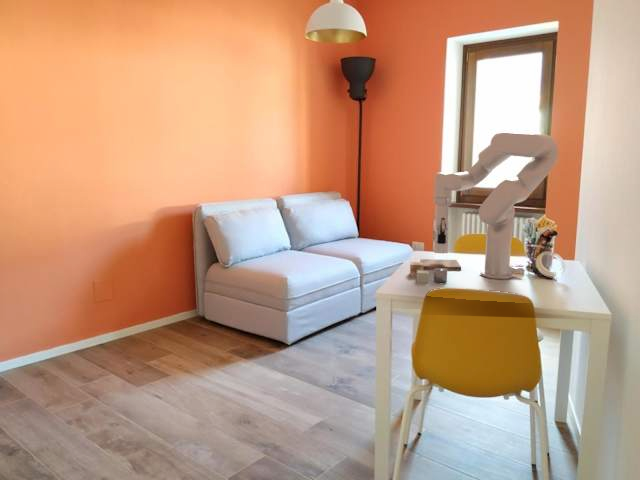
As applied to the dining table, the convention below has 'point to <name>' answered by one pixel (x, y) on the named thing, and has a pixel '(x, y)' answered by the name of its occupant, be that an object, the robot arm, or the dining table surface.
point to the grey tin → (440, 275)
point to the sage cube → (422, 276)
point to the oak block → (415, 268)
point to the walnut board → (440, 264)
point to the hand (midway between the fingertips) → (440, 241)
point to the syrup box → (437, 247)
